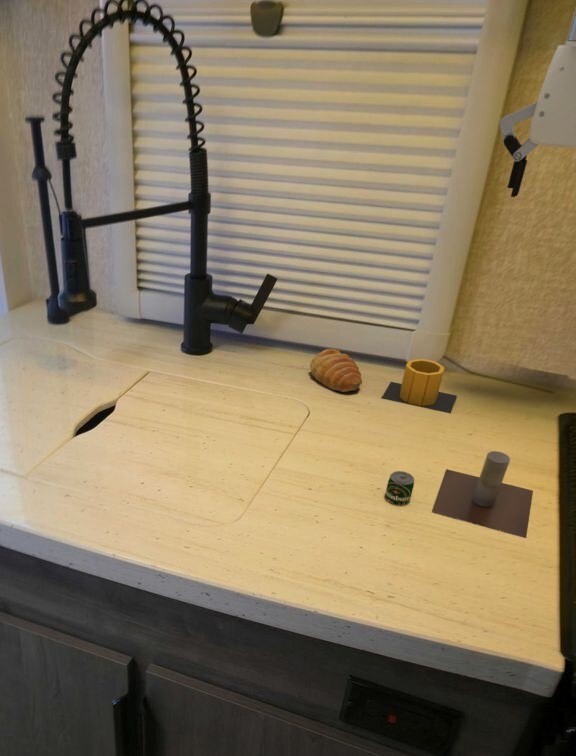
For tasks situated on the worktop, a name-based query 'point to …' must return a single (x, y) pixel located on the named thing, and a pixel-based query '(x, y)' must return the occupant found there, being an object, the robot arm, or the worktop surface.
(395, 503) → the beer can
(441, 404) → the mat
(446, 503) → the stand
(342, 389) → the pastry
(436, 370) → the sleeve
